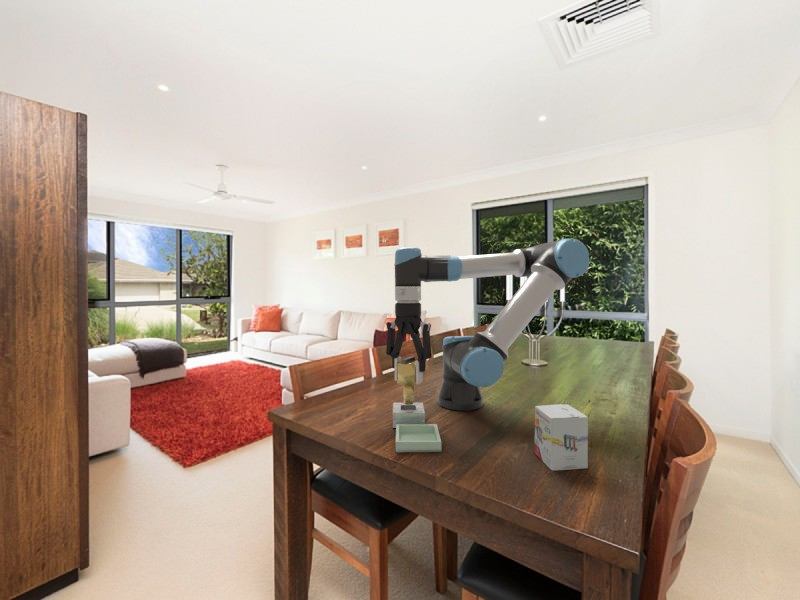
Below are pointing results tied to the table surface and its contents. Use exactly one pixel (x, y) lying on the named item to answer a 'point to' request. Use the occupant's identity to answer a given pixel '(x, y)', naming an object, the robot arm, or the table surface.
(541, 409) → the ink box
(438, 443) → the tray
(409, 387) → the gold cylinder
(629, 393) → the table surface
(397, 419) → the silver square block
